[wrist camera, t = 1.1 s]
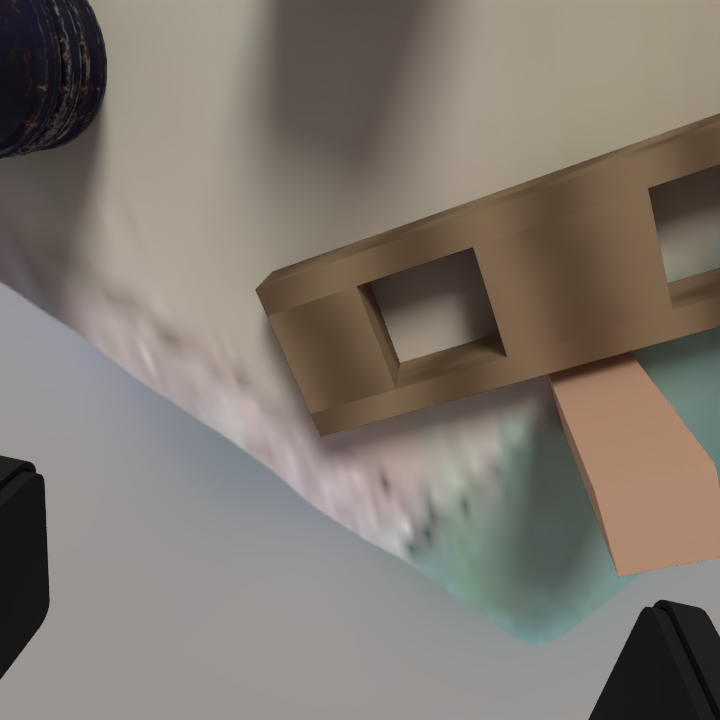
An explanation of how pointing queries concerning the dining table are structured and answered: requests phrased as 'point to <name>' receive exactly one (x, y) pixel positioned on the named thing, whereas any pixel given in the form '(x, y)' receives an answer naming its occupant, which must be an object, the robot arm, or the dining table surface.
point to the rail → (502, 286)
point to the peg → (638, 466)
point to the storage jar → (48, 73)
